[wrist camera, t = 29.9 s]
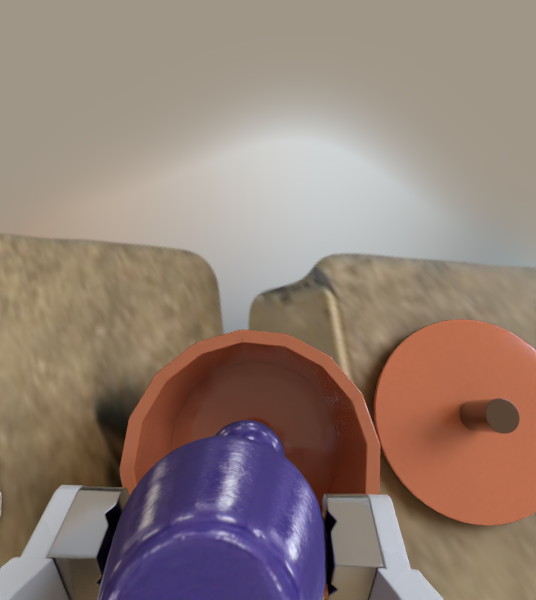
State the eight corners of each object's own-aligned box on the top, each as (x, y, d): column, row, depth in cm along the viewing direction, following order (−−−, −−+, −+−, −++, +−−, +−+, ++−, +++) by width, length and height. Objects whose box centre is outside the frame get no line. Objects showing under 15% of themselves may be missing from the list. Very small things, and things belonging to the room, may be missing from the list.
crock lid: (368, 510, 32) (387, 528, 27) (374, 313, 36) (392, 297, 31) (573, 532, 31) (632, 554, 26) (555, 331, 36) (602, 318, 31)
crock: (148, 536, 31) (96, 591, 21) (179, 346, 35) (146, 319, 25) (341, 557, 31) (376, 623, 21) (350, 363, 35) (383, 343, 25)
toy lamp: (310, 471, 21) (442, 635, 5) (245, 540, 21) (174, 982, 5) (247, 403, 22) (202, 371, 6) (182, 466, 22) (-62, 618, 5)
